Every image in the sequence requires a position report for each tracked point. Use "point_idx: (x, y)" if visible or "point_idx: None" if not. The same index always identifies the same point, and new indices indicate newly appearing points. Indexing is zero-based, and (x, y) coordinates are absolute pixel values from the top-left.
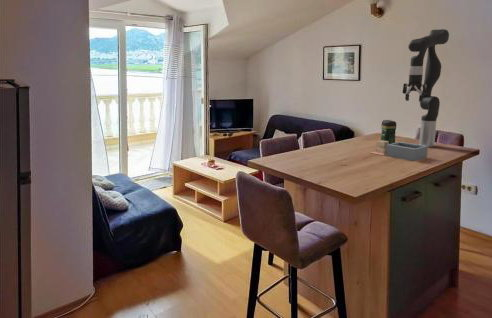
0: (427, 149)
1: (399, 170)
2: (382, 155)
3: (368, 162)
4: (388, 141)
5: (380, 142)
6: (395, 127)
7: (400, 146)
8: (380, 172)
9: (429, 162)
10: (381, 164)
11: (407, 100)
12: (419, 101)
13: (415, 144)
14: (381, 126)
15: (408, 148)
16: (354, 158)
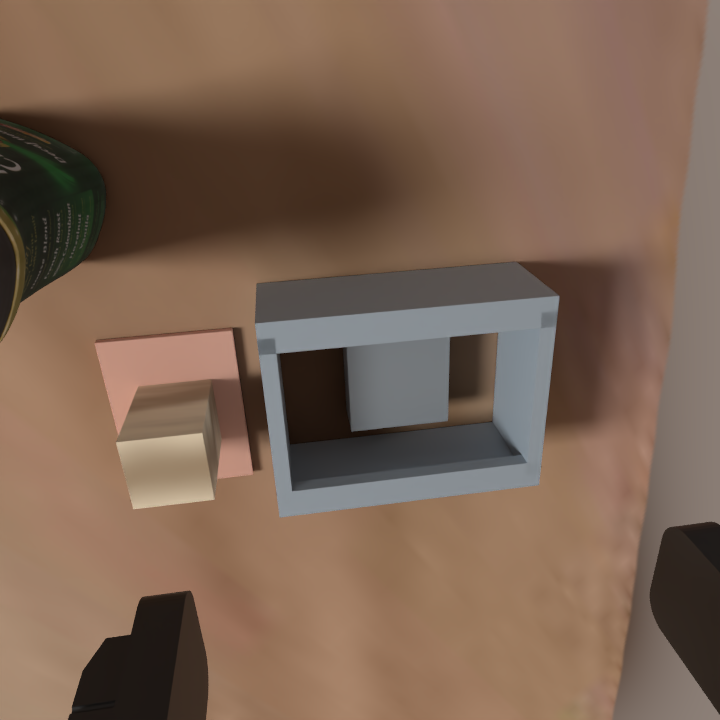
0: (545, 285)
1: (544, 634)
2: (252, 472)
3: (329, 646)
4: (202, 435)
5: (175, 500)
6: (21, 248)
7: (400, 490)
8: (497, 711)
9: (593, 380)
10: (408, 624)
11: (203, 654)
12: (665, 605)
13: (441, 323)
14: None
15: (480, 490)
16: None
